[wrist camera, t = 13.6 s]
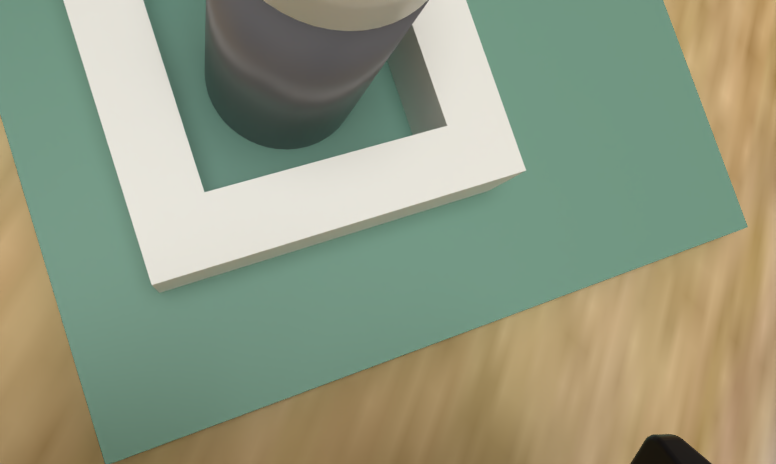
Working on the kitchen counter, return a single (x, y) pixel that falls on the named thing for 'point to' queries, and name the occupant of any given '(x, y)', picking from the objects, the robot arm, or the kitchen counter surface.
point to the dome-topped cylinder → (297, 62)
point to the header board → (382, 280)
